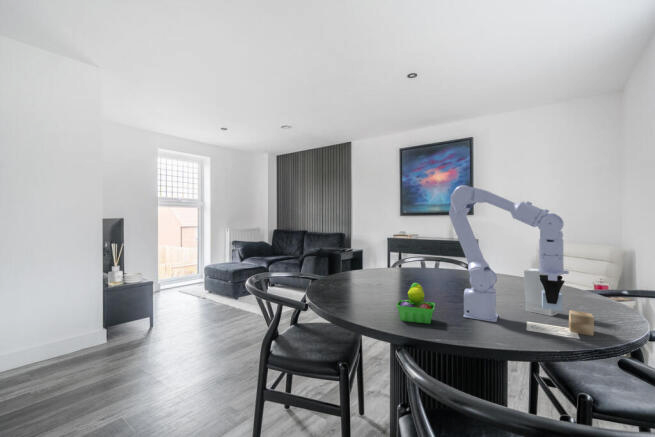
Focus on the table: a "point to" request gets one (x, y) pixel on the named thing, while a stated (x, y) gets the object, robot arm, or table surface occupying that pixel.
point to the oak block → (581, 322)
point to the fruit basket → (415, 306)
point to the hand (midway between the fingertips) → (551, 301)
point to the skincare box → (535, 293)
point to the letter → (551, 330)
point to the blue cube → (552, 306)
